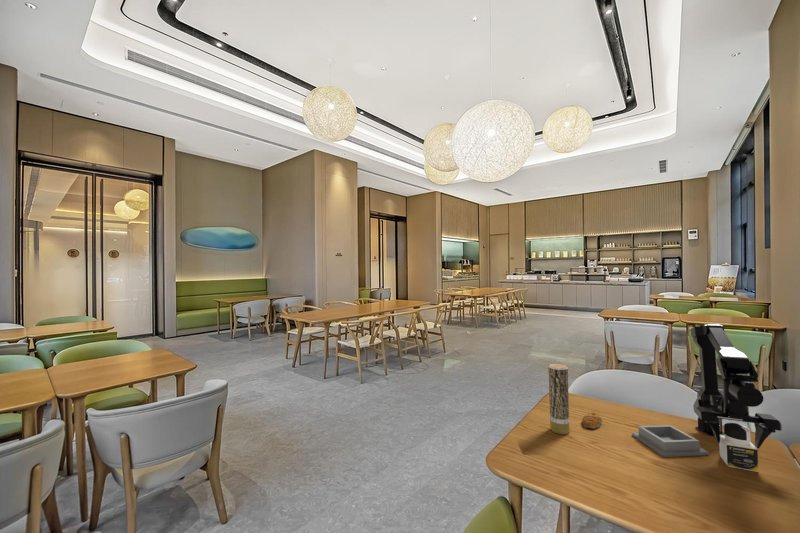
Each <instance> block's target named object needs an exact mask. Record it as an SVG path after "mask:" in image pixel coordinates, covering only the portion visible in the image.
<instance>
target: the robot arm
mask: <svg viewBox="0 0 800 533" xmlns="http://www.w3.org/2000/svg"><path fill="white" fill-rule="evenodd" d="M690 336H691V338H692V342H693V343H694V344H695V346H697V348H698V350H699V362H700V375H701V388H700V389H699V390H698V392H697V395H696V397H697V398H696V399H695V401H694V404H693V412H694V413H695V415H697V426H694V429H696V430H698V431H700V432H702V433H704V434H706V435H708V436H710V437H714V438H715V440H716V442H717V443H718V444H719V443H720V435H724V431H723V420H728V421H738V422H744V423H745V422H746V423H751V424H754V429H755V437H754V446H755V447H756V448H757V449H760V448H761V446H762V445H763V443H764V442H765V441H766V439H767V438H768V437H769V436H770V435H771V434H772V433H773V434H775V433H776V432H777V431H782V430H783V426H782V423H781V421H780V420H778V419H777V418H776V417H775V416H773V415H772V414H768V413H760V412H757V413H756V412H755V414H754V416H753V415H750V411H749V410H750V408H751V407H752V408H754V407H758V406H760V405H761V404H762V403H763V402H764V396H763V393H762V392H761V391H760V390H759V388H758V389H757V388H756V387H755V386H754V383H759V380H758V378H759V374H758V372H757V370H756V368H755V366H754V363H753V362H752V360H750V359H749V357H748V356H747V355H746V354H745V353H744V352H743V351H740V350H738V349H736V347H735V346H734V345H733V343H732V341H731V339H730V338H729V336H728V335H727V334H726V332H725V327H724V325H721V324H715V323H714V324H713V323H706V324H703V325H694V326H693V327H692V328H690ZM716 354H717V355H716ZM716 356H717V357H716ZM718 371H719V373H720V376H721V378H722V393H721V392H720V390H719V379H718ZM719 425H720V426H719Z"/></svg>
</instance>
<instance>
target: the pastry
mask: <svg viewBox="0 0 800 533" xmlns="http://www.w3.org/2000/svg"><path fill="white" fill-rule="evenodd" d="M602 423H603V419H602V418H601V417H600V415H599V414H597V413H595V412H588V413H586V414H585V415H584V416H583V417H582V424H583V427H584V428H589V429H593V430H595V429H597V428H600V427H601V426H602ZM600 425H601V426H600ZM599 426H600V427H599Z"/></svg>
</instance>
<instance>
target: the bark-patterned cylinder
mask: <svg viewBox="0 0 800 533" xmlns="http://www.w3.org/2000/svg"><path fill="white" fill-rule="evenodd" d="M568 370H569V368H568V365H566V364H562V363H550V364H548V392H549V394H548V396H549V421H550V423H549V426H550V431H552V432H553V433H555V434H557V433H558V435H567V434H569V433H570V400H569V371H568Z"/></svg>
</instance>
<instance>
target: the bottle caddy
mask: <svg viewBox="0 0 800 533" xmlns="http://www.w3.org/2000/svg"><path fill="white" fill-rule="evenodd" d="M631 436H632V437H633V438H635V439H637V440H638V441H640V442H642V443H643V444H644V445H645V446H648V448H650V449H652V450H653V451H655V452H656V453H657V454H659V455H660V456H662V457H665V458H668V457H669V458H670V457H671V458H672V457H691V456H692V457H697V456H709V452H708V451H707V450H705V449H704V448H702V447H701V446H700V444H701V443H700V440H698V439H697V438H695V437H693V436H691V435H689V434H687V433H686V432H684V431H682V430H680V429H678V428H676V427H675V426H673V425H670V424H669V425H668V424H666V425H664V424H663V425H642V426H641V425H638V432H631Z"/></svg>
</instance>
